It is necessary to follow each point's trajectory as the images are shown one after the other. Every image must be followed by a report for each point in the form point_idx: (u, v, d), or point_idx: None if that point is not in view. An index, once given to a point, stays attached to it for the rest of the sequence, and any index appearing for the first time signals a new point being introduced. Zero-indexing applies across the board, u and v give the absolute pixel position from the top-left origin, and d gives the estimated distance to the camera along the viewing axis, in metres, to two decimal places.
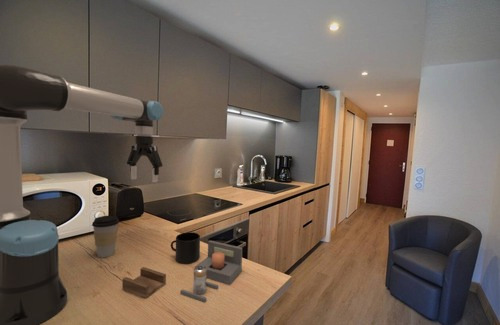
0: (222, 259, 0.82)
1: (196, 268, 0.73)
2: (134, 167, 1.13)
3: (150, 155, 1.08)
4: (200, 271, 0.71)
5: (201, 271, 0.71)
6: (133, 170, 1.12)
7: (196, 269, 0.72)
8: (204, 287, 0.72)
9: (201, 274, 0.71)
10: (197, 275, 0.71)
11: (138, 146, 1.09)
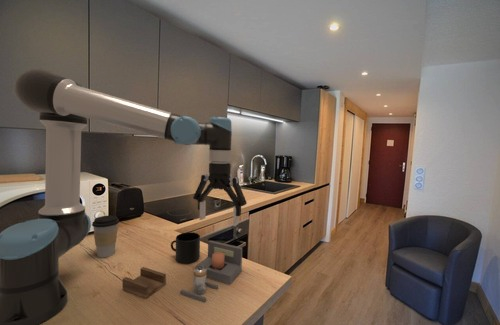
0: (222, 259, 0.82)
1: (196, 268, 0.73)
2: (203, 203, 0.84)
3: (229, 189, 0.80)
4: (200, 271, 0.71)
5: (201, 271, 0.71)
6: (202, 207, 0.84)
7: (196, 269, 0.72)
8: (204, 287, 0.72)
9: (201, 274, 0.71)
10: (197, 275, 0.71)
11: (211, 176, 0.81)
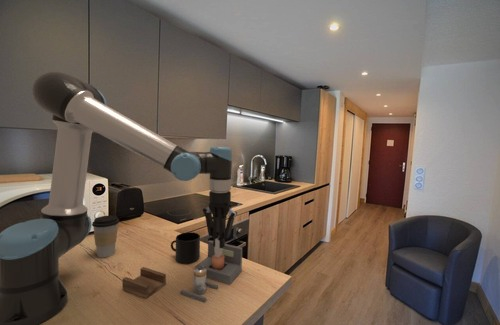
0: (222, 261, 0.82)
1: (196, 268, 0.73)
2: None
3: (223, 220, 0.81)
4: (200, 271, 0.71)
5: (201, 271, 0.71)
6: None
7: (196, 269, 0.72)
8: (204, 287, 0.72)
9: (201, 274, 0.71)
10: (197, 275, 0.71)
11: (210, 204, 0.82)
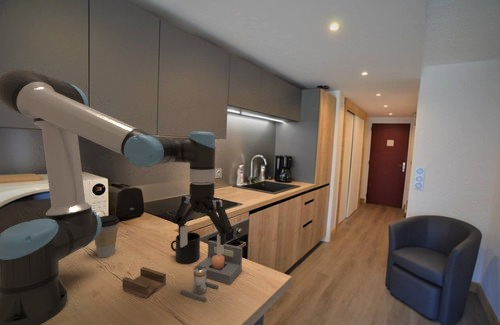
0: (222, 262, 0.82)
1: (196, 268, 0.73)
2: (184, 228, 0.74)
3: (213, 213, 0.69)
4: (200, 271, 0.71)
5: (201, 271, 0.71)
6: (183, 233, 0.74)
7: (196, 269, 0.72)
8: (204, 287, 0.72)
9: (201, 274, 0.71)
10: (197, 275, 0.71)
11: (193, 198, 0.71)
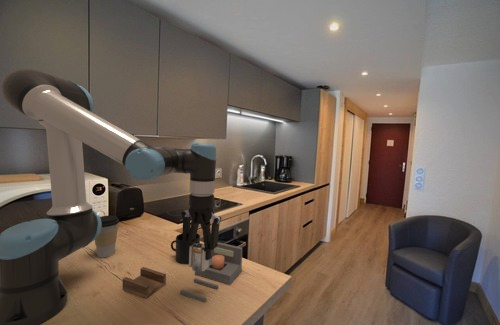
0: (222, 262, 0.82)
1: (195, 245, 0.72)
2: None
3: (207, 227, 0.70)
4: (199, 248, 0.71)
5: (200, 248, 0.71)
6: (192, 252, 0.73)
7: (195, 246, 0.72)
8: None
9: (200, 250, 0.70)
10: (197, 251, 0.70)
11: (191, 208, 0.71)
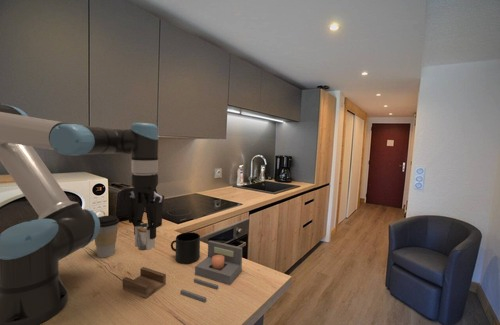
0: (222, 262, 0.82)
1: (141, 225, 0.73)
2: None
3: (150, 207, 0.71)
4: (144, 227, 0.71)
5: (145, 227, 0.72)
6: None
7: (141, 225, 0.73)
8: None
9: (144, 229, 0.71)
10: (141, 230, 0.71)
11: (135, 188, 0.72)
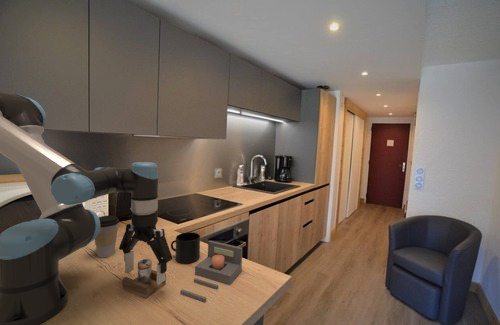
0: (222, 262, 0.82)
1: (141, 261, 0.74)
2: (130, 254, 0.76)
3: (154, 242, 0.71)
4: (143, 264, 0.72)
5: (144, 264, 0.72)
6: (128, 259, 0.76)
7: (140, 262, 0.73)
8: (148, 280, 0.73)
9: (144, 267, 0.72)
10: (140, 268, 0.72)
11: (136, 227, 0.73)
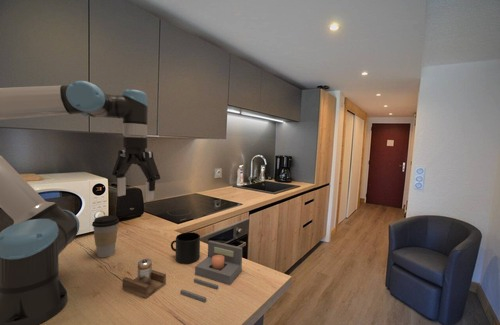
0: (222, 262, 0.82)
1: (141, 261, 0.74)
2: (122, 179, 0.83)
3: (143, 164, 0.78)
4: (143, 264, 0.72)
5: (144, 264, 0.72)
6: (121, 183, 0.83)
7: (140, 262, 0.73)
8: (148, 280, 0.73)
9: (144, 267, 0.72)
10: (140, 268, 0.72)
11: (127, 151, 0.80)
